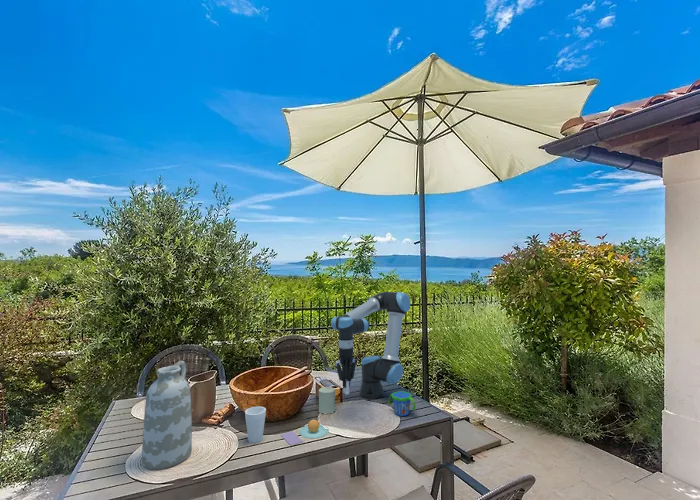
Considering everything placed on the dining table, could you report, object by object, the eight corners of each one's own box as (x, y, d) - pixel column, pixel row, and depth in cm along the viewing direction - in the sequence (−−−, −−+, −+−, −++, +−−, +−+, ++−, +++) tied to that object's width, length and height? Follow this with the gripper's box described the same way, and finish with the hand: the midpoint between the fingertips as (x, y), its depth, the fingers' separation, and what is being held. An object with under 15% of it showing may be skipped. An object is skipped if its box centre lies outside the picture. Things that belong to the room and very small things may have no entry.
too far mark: (291, 431, 165) (291, 431, 165) (302, 441, 155) (302, 441, 155) (280, 435, 161) (280, 434, 161) (290, 445, 152) (290, 445, 152)
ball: (314, 416, 168) (305, 420, 165) (320, 420, 164) (310, 425, 160) (316, 426, 168) (306, 431, 165) (322, 431, 164) (312, 436, 161)
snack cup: (384, 412, 185) (383, 393, 185) (395, 407, 193) (395, 388, 193) (408, 421, 174) (408, 401, 175) (419, 414, 182) (419, 395, 182)
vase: (172, 472, 133) (174, 372, 135) (130, 468, 136) (132, 371, 138) (202, 445, 152) (204, 359, 155) (165, 442, 155) (167, 358, 158)
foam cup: (246, 446, 151) (247, 416, 152) (243, 437, 160) (243, 409, 160) (268, 441, 156) (268, 412, 157) (263, 432, 164) (263, 405, 165)
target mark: (319, 422, 175) (319, 421, 175) (334, 432, 163) (334, 432, 163) (294, 429, 167) (294, 429, 167) (307, 441, 155) (307, 440, 155)
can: (336, 407, 193) (336, 386, 193) (333, 414, 183) (333, 392, 184) (320, 407, 193) (320, 385, 194) (317, 414, 184) (317, 391, 185)
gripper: (339, 350, 171) (339, 398, 170) (360, 347, 178) (360, 393, 177) (331, 347, 177) (332, 394, 176) (352, 344, 184) (352, 388, 183)
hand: (346, 393), depth 176 cm, fingers closed
